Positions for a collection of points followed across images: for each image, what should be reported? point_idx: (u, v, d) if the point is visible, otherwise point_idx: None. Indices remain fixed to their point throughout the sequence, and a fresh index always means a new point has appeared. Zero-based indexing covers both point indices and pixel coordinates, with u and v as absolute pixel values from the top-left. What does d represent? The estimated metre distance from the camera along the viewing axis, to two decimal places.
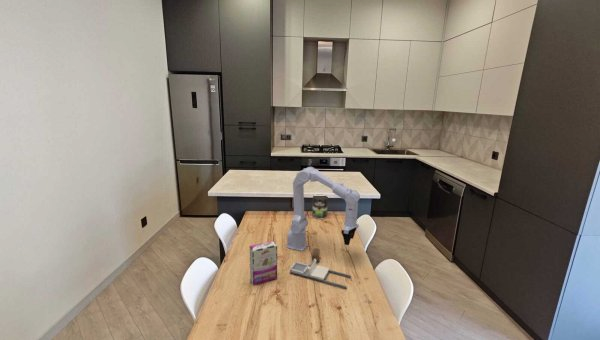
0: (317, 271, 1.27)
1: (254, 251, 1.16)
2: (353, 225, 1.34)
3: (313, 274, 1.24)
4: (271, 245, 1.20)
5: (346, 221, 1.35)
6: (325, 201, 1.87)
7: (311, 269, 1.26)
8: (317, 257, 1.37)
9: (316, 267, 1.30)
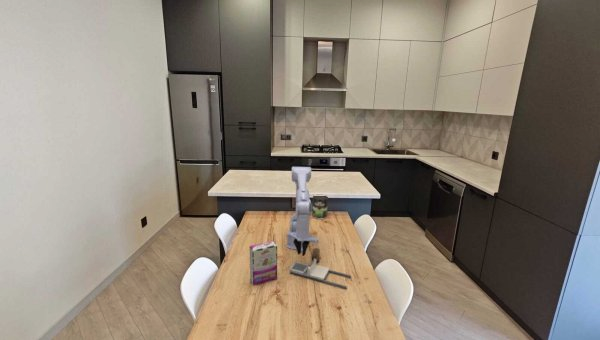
0: (317, 271, 1.27)
1: (254, 251, 1.16)
2: (296, 235, 1.25)
3: (313, 274, 1.24)
4: (271, 245, 1.20)
5: None
6: (325, 201, 1.87)
7: (311, 269, 1.26)
8: (317, 257, 1.37)
9: (316, 267, 1.30)
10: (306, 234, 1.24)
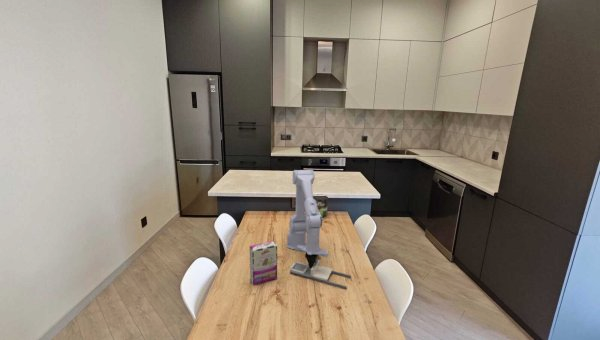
0: (320, 272, 1.26)
1: (254, 251, 1.16)
2: (306, 248, 1.25)
3: (317, 275, 1.24)
4: (271, 245, 1.20)
5: None
6: (325, 201, 1.87)
7: (314, 270, 1.25)
8: (317, 257, 1.37)
9: (319, 268, 1.29)
10: (316, 248, 1.23)
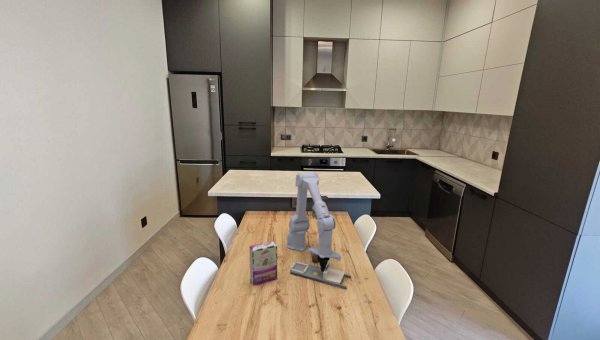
0: (332, 275, 1.24)
1: (254, 251, 1.16)
2: (318, 251, 1.23)
3: (329, 279, 1.22)
4: (271, 245, 1.20)
5: None
6: (325, 201, 1.87)
7: (327, 273, 1.23)
8: None
9: (331, 271, 1.27)
10: (329, 251, 1.21)
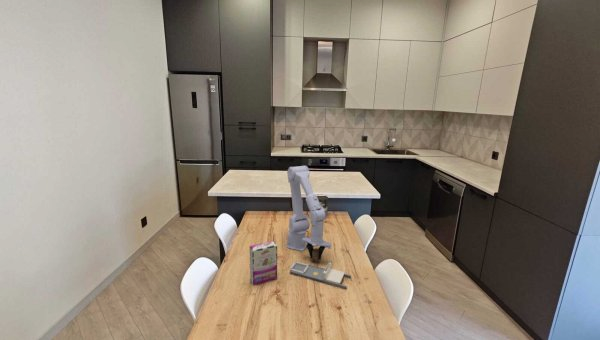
0: (332, 275, 1.24)
1: (254, 251, 1.16)
2: (311, 240, 1.35)
3: (329, 279, 1.22)
4: (271, 245, 1.20)
5: None
6: (325, 201, 1.87)
7: (327, 273, 1.23)
8: (317, 257, 1.37)
9: (331, 271, 1.27)
10: (320, 239, 1.34)
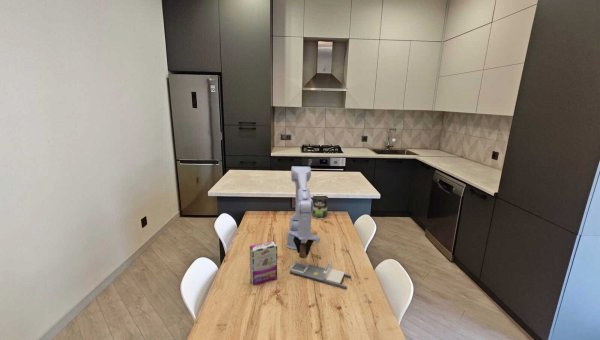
0: (332, 275, 1.24)
1: (254, 251, 1.16)
2: (298, 233, 1.26)
3: (329, 279, 1.22)
4: (271, 245, 1.20)
5: None
6: (325, 201, 1.87)
7: (327, 273, 1.23)
8: (305, 252, 1.28)
9: (331, 271, 1.27)
10: (308, 233, 1.25)
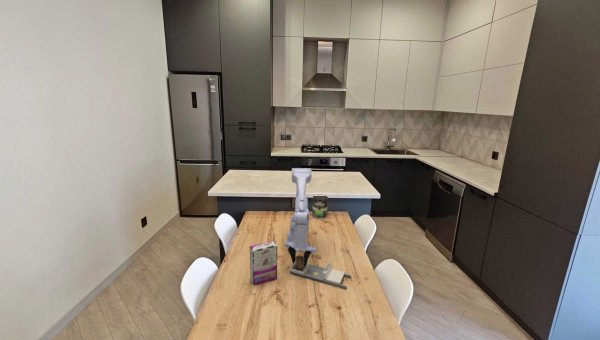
0: (332, 275, 1.24)
1: (254, 251, 1.16)
2: (294, 244, 1.26)
3: (329, 279, 1.22)
4: (271, 245, 1.20)
5: None
6: (325, 201, 1.87)
7: (327, 273, 1.23)
8: (301, 265, 1.28)
9: (331, 271, 1.27)
10: (304, 244, 1.24)
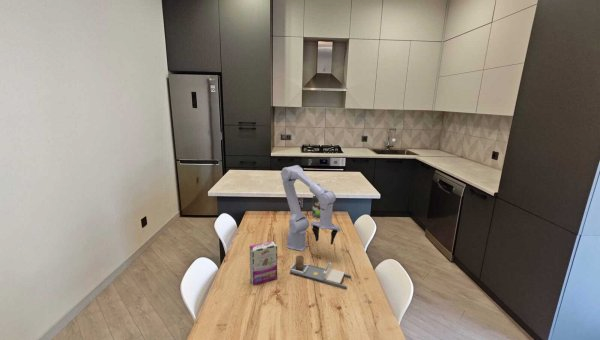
0: (332, 275, 1.24)
1: (254, 251, 1.16)
2: (320, 223, 1.36)
3: (329, 279, 1.22)
4: (271, 245, 1.20)
5: None
6: None
7: (327, 273, 1.23)
8: (301, 265, 1.28)
9: (331, 271, 1.27)
10: (329, 223, 1.34)
